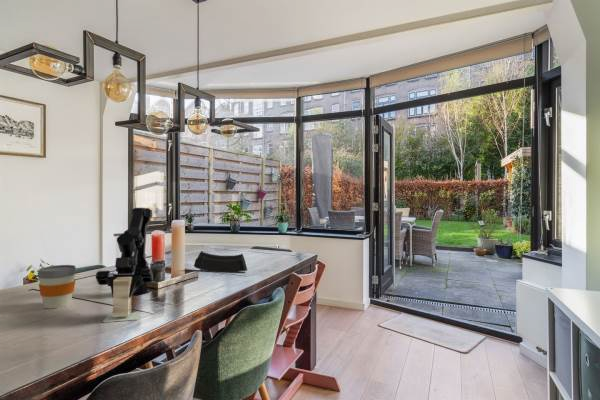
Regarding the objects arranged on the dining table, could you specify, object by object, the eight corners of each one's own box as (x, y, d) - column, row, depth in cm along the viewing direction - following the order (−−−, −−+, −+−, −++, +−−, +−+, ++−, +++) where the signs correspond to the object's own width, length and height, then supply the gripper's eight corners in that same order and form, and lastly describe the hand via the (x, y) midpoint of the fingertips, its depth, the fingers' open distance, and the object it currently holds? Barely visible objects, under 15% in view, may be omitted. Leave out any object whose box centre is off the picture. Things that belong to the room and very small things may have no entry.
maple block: (116, 312, 129) (117, 277, 128) (131, 311, 130) (131, 276, 130) (112, 317, 124) (113, 280, 123) (128, 316, 125) (128, 280, 125)
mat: (108, 315, 129) (108, 314, 129) (141, 312, 132) (141, 311, 132) (102, 322, 121) (102, 321, 121) (136, 320, 124) (136, 319, 124)
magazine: (251, 256, 202) (203, 239, 206) (250, 257, 199) (200, 240, 203) (243, 284, 203) (195, 267, 207) (241, 286, 200) (192, 268, 203)
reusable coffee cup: (33, 312, 132) (33, 272, 131) (43, 302, 143) (42, 266, 143) (73, 308, 137) (72, 269, 136) (78, 299, 148) (78, 263, 148)
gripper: (97, 249, 128) (87, 287, 117) (151, 247, 132) (146, 283, 122) (103, 266, 135) (94, 303, 125) (154, 264, 140) (150, 299, 130)
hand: (121, 297), depth 125 cm, fingers closed on maple block, 5 cm apart
